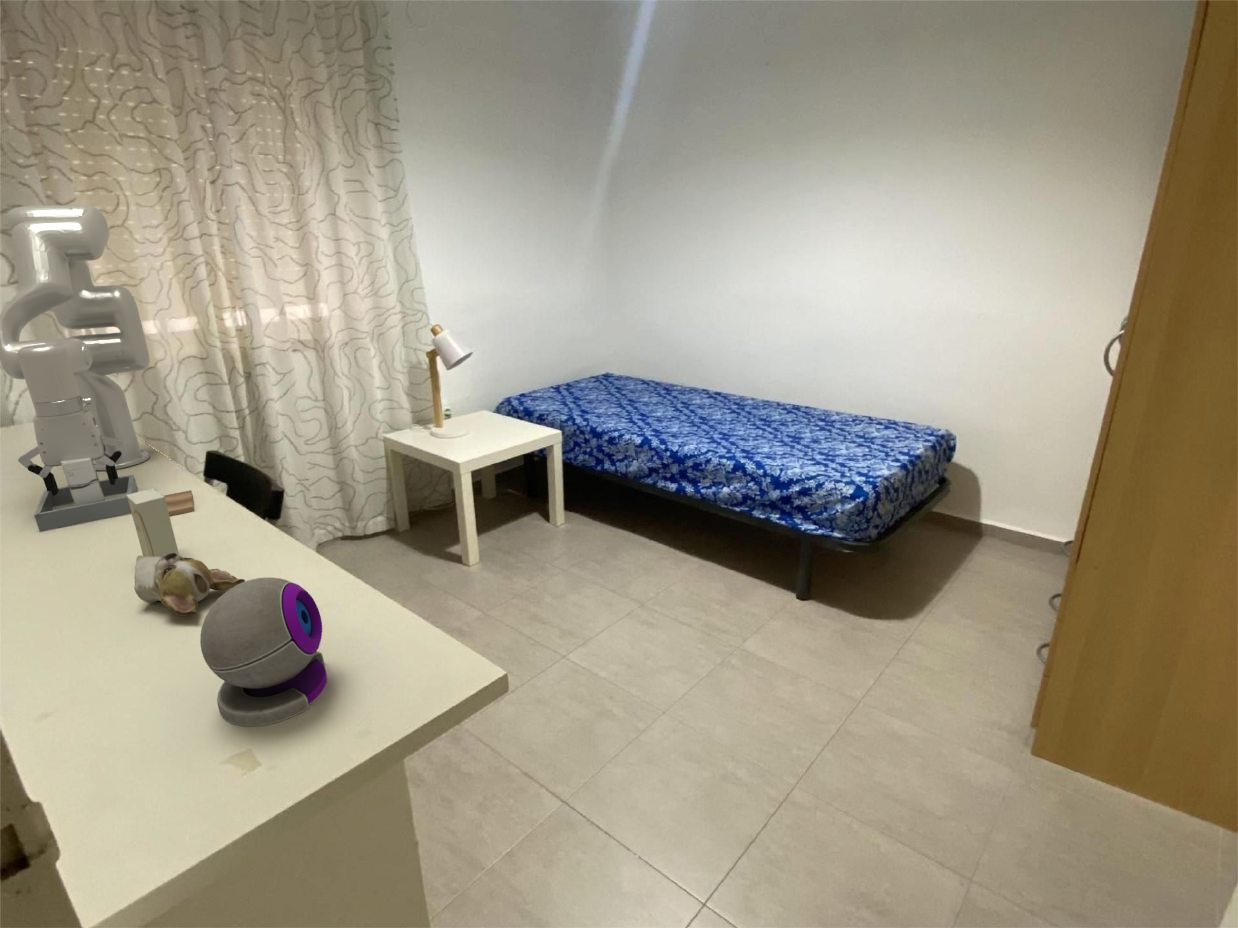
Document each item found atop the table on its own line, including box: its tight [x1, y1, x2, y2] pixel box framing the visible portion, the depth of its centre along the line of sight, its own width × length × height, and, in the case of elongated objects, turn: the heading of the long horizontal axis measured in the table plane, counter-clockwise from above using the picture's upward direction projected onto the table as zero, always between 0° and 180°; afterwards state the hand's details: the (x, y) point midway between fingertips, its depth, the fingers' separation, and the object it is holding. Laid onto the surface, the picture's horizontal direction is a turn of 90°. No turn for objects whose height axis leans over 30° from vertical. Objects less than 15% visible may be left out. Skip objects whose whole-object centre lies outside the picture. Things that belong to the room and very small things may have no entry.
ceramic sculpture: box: [133, 553, 246, 617], centre depth 104 cm, size 11×9×15 cm
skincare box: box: [126, 487, 180, 558], centre depth 118 cm, size 6×4×12 cm
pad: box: [163, 489, 195, 517], centre depth 142 cm, size 11×9×1 cm
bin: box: [33, 474, 139, 532], centre depth 142 cm, size 16×16×4 cm
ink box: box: [61, 458, 106, 506], centre depth 140 cm, size 9×5×12 cm, turn 39°
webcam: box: [200, 577, 328, 727], centre depth 82 cm, size 13×13×15 cm
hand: (85, 488), depth 140 cm, fingers open, 9 cm apart
